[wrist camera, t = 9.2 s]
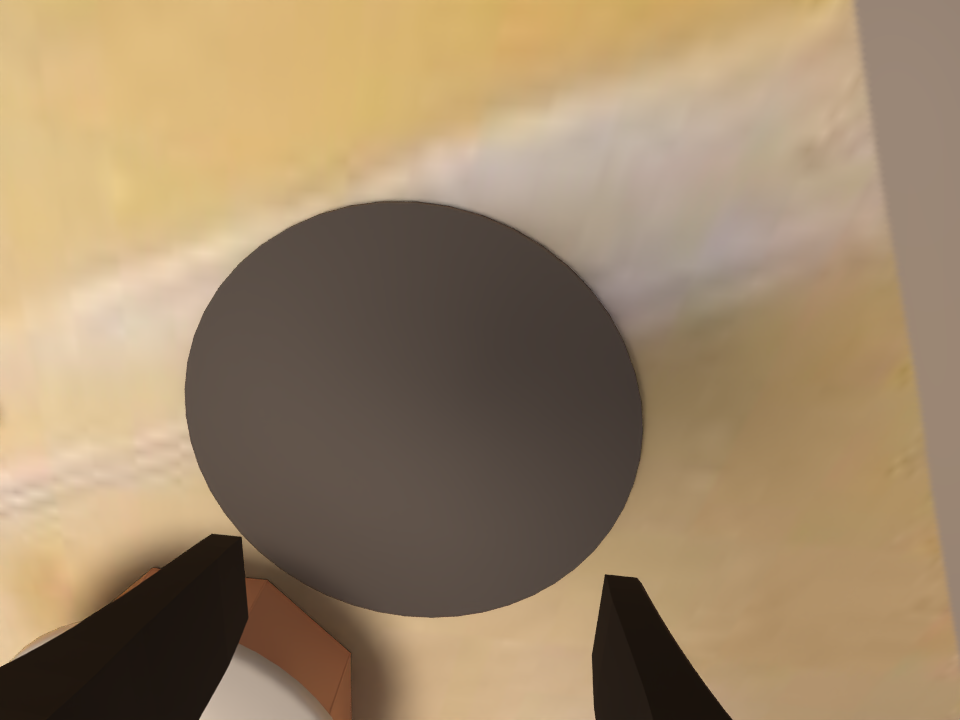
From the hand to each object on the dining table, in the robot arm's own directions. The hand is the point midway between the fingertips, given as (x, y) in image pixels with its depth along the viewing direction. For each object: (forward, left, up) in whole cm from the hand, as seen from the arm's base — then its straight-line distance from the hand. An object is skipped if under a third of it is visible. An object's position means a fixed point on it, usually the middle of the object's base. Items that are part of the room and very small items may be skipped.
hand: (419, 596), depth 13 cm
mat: (+2, +2, -10) cm, 11 cm away
